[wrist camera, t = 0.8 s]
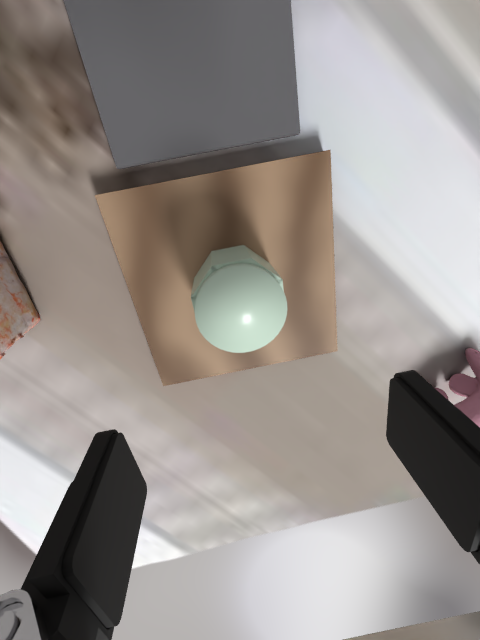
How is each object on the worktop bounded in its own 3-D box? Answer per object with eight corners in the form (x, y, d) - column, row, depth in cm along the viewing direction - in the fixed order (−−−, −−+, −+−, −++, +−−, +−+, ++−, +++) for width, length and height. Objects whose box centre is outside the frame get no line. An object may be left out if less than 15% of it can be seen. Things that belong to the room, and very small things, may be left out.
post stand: (323, 152, 23) (354, 142, 18) (331, 343, 31) (355, 374, 26) (101, 194, 23) (71, 196, 18) (165, 377, 31) (156, 414, 26)
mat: (283, -50, 18) (286, -59, 18) (297, 134, 22) (300, 133, 22) (64, -9, 18) (57, -17, 17) (119, 169, 22) (116, 168, 22)
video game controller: (396, 398, 37) (439, 451, 33) (393, 388, 34) (441, 446, 29) (469, 356, 35) (525, 406, 31) (474, 341, 32) (537, 395, 27)
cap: (266, 240, 24) (283, 256, 19) (276, 311, 27) (293, 344, 21) (188, 255, 24) (181, 276, 18) (206, 325, 27) (205, 362, 21)
